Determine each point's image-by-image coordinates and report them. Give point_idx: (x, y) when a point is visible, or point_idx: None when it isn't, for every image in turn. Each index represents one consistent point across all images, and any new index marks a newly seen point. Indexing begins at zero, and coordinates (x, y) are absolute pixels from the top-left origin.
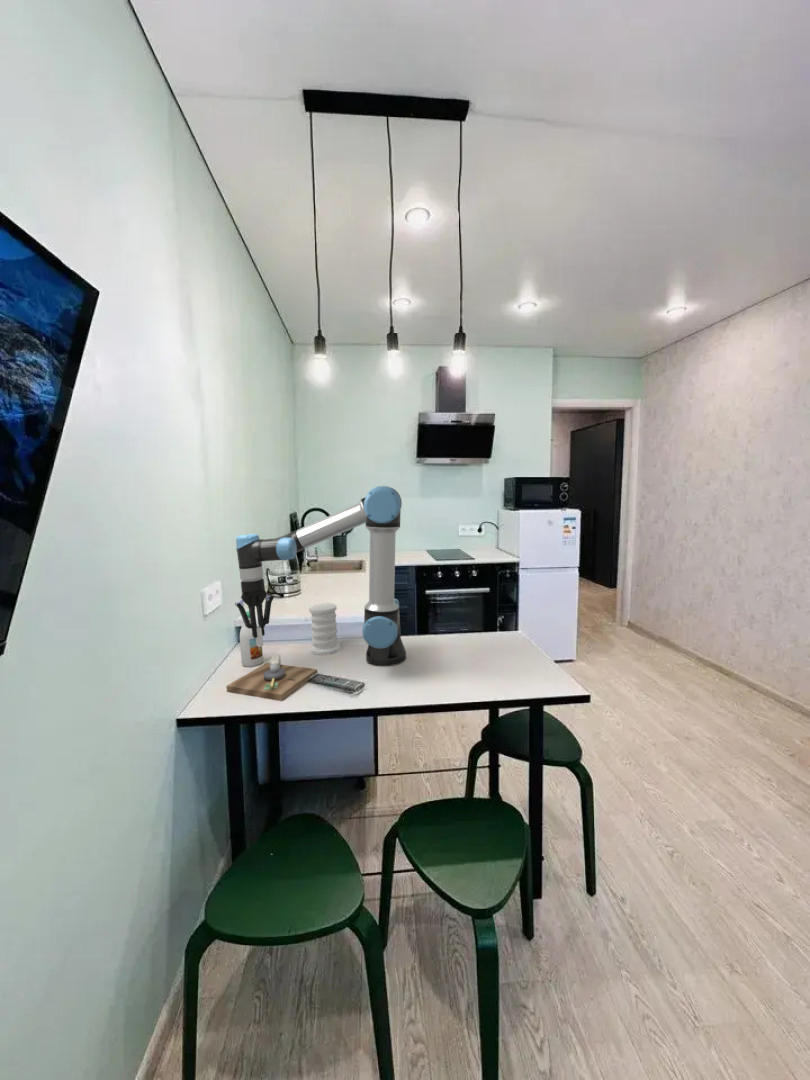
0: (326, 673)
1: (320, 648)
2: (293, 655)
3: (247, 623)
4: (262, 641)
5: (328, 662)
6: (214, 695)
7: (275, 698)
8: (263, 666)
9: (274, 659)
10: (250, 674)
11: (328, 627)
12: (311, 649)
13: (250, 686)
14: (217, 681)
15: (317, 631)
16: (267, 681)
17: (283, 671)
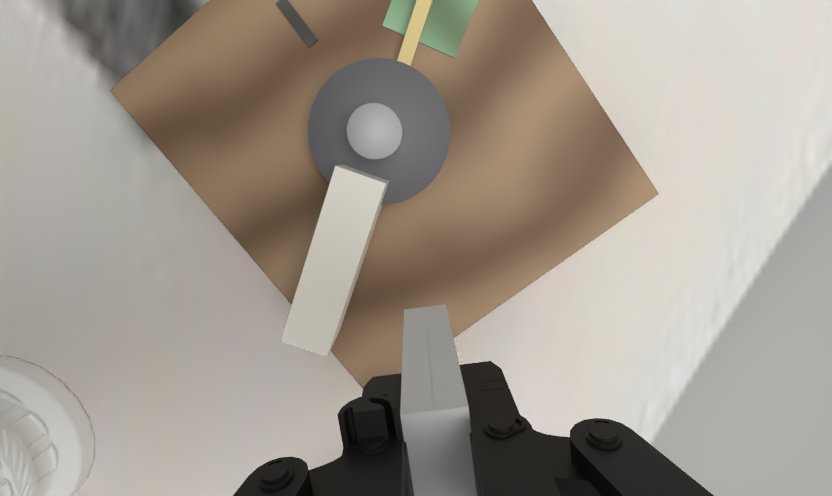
0: (80, 79)
1: (19, 411)
2: (200, 465)
3: (675, 482)
4: (407, 327)
5: (33, 238)
6: (708, 184)
7: None
8: (400, 349)
9: (340, 254)
10: (496, 275)
11: None
12: (80, 457)
13: (543, 89)
14: (647, 361)
15: None
16: None
17: (322, 101)
